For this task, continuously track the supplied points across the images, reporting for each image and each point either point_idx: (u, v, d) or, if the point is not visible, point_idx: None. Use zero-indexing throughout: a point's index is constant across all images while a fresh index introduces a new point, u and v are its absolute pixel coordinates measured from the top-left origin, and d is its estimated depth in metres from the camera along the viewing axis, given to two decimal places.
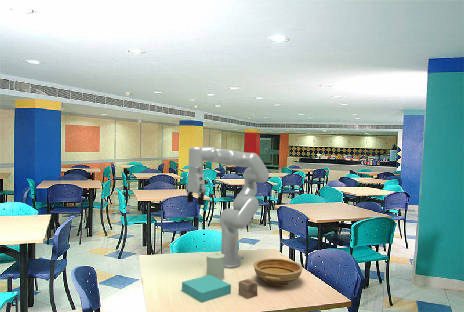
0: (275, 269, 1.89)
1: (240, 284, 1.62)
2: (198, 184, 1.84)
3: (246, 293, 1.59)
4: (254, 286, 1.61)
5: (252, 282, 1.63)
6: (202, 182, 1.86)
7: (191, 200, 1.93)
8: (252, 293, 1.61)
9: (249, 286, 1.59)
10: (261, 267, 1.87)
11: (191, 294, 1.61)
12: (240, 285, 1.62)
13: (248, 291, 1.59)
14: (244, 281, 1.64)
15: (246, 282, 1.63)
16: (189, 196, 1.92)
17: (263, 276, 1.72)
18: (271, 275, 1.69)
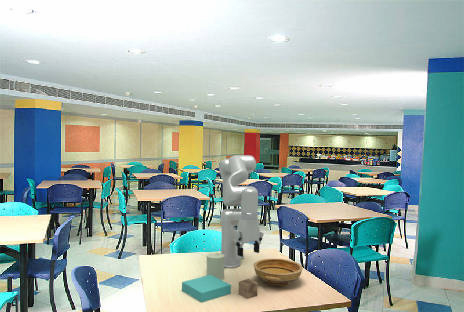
0: (275, 269, 1.89)
1: (240, 284, 1.62)
2: None
3: (246, 293, 1.59)
4: (254, 286, 1.61)
5: (252, 282, 1.63)
6: None
7: None
8: (252, 293, 1.61)
9: (249, 286, 1.59)
10: (261, 267, 1.87)
11: (191, 294, 1.61)
12: (240, 285, 1.62)
13: (248, 291, 1.59)
14: (244, 281, 1.64)
15: (246, 282, 1.63)
16: None
17: (263, 276, 1.72)
18: (271, 275, 1.69)
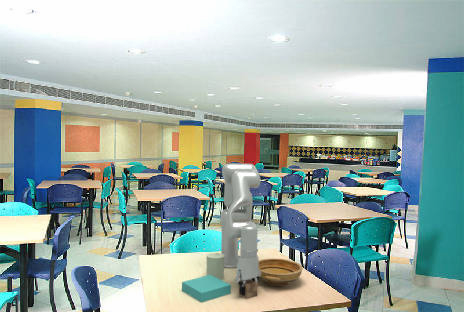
0: (275, 269, 1.89)
1: None
2: None
3: (246, 293, 1.59)
4: (254, 286, 1.61)
5: (252, 282, 1.63)
6: None
7: None
8: (252, 293, 1.61)
9: (249, 286, 1.59)
10: (261, 267, 1.87)
11: (191, 294, 1.61)
12: None
13: (248, 291, 1.59)
14: None
15: (246, 281, 1.63)
16: None
17: (263, 276, 1.72)
18: (271, 275, 1.69)
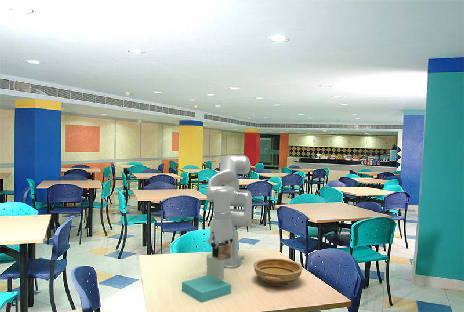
0: (275, 269, 1.89)
1: None
2: None
3: (219, 254, 1.61)
4: (227, 248, 1.63)
5: (225, 244, 1.64)
6: None
7: None
8: (225, 255, 1.62)
9: (222, 248, 1.61)
10: (261, 267, 1.87)
11: (191, 294, 1.61)
12: None
13: (222, 253, 1.61)
14: (218, 244, 1.65)
15: (220, 244, 1.64)
16: None
17: (263, 276, 1.72)
18: (271, 275, 1.69)
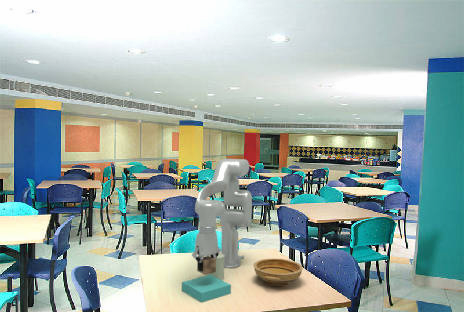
0: (275, 269, 1.89)
1: None
2: None
3: (203, 268, 1.62)
4: (212, 262, 1.63)
5: (210, 258, 1.65)
6: None
7: None
8: (210, 269, 1.63)
9: (207, 262, 1.62)
10: (261, 267, 1.87)
11: (191, 294, 1.61)
12: None
13: (206, 267, 1.61)
14: (203, 257, 1.66)
15: (205, 258, 1.65)
16: None
17: (263, 276, 1.72)
18: (271, 275, 1.69)
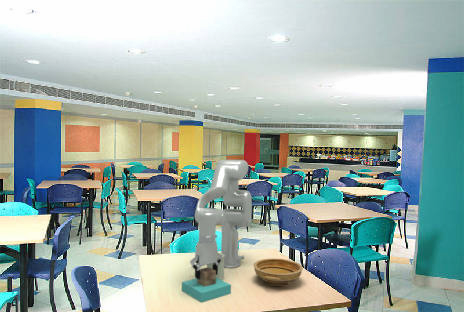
0: (275, 269, 1.89)
1: None
2: None
3: (203, 280, 1.62)
4: (212, 274, 1.64)
5: (210, 270, 1.65)
6: None
7: None
8: (209, 281, 1.63)
9: (207, 274, 1.62)
10: (261, 267, 1.87)
11: (191, 294, 1.61)
12: None
13: (206, 279, 1.62)
14: (203, 269, 1.66)
15: (205, 270, 1.65)
16: None
17: (263, 276, 1.72)
18: (271, 275, 1.69)
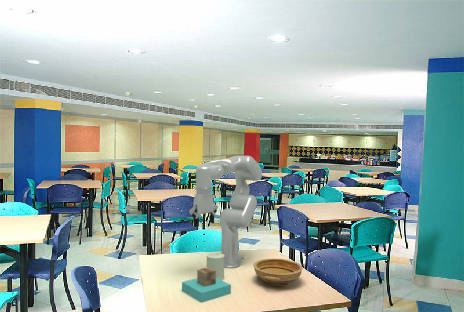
0: (275, 269, 1.89)
1: (199, 272, 1.65)
2: None
3: (203, 280, 1.62)
4: (212, 274, 1.64)
5: (210, 270, 1.65)
6: None
7: None
8: (209, 281, 1.63)
9: (207, 274, 1.62)
10: (261, 267, 1.87)
11: (191, 294, 1.61)
12: (199, 273, 1.65)
13: (206, 279, 1.62)
14: (203, 269, 1.66)
15: (205, 270, 1.65)
16: None
17: (263, 276, 1.72)
18: (271, 275, 1.69)
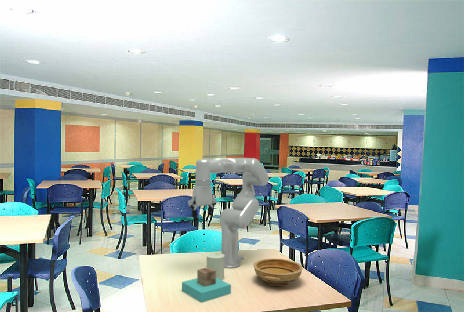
0: (275, 269, 1.89)
1: (199, 272, 1.65)
2: None
3: (203, 280, 1.62)
4: (212, 274, 1.64)
5: (210, 270, 1.65)
6: None
7: None
8: (209, 281, 1.63)
9: (207, 274, 1.62)
10: (261, 267, 1.87)
11: (191, 294, 1.61)
12: (199, 273, 1.65)
13: (206, 279, 1.62)
14: (203, 269, 1.66)
15: (205, 270, 1.65)
16: None
17: (263, 276, 1.72)
18: (271, 275, 1.69)
